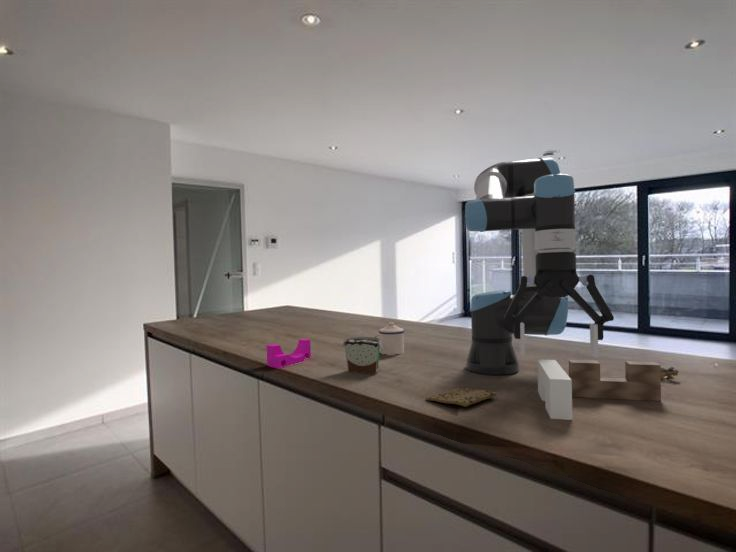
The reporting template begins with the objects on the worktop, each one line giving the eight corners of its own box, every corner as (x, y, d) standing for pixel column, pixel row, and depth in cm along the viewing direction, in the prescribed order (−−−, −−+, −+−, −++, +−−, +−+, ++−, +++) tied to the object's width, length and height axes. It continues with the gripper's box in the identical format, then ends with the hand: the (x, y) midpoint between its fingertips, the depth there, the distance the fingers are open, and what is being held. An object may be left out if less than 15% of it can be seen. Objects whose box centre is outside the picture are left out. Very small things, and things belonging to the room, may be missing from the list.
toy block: (278, 371, 130) (277, 347, 130) (267, 368, 134) (266, 345, 134) (315, 362, 141) (314, 340, 141) (304, 359, 145) (303, 338, 145)
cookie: (456, 389, 106) (456, 381, 106) (498, 400, 96) (498, 391, 96) (424, 400, 98) (424, 391, 98) (465, 412, 89) (465, 403, 89)
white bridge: (572, 420, 82) (571, 379, 82) (550, 418, 83) (549, 379, 83) (556, 393, 99) (555, 359, 99) (538, 392, 100) (537, 359, 100)
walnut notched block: (572, 396, 96) (571, 362, 96) (569, 393, 99) (568, 359, 99) (661, 401, 91) (660, 365, 91) (655, 396, 94) (654, 362, 94)
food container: (388, 370, 126) (388, 337, 126) (381, 375, 121) (380, 341, 121) (352, 367, 131) (352, 335, 131) (343, 371, 126) (342, 339, 126)
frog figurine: (685, 378, 110) (684, 364, 110) (675, 388, 102) (675, 373, 102) (635, 371, 118) (635, 358, 118) (622, 380, 110) (622, 366, 110)
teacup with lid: (409, 353, 150) (408, 321, 150) (397, 358, 142) (396, 324, 142) (380, 351, 156) (379, 320, 156) (367, 355, 149) (366, 323, 148)
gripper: (492, 253, 84) (494, 357, 84) (630, 248, 78) (633, 360, 78) (491, 254, 92) (493, 350, 92) (617, 250, 85) (620, 353, 85)
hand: (557, 355), depth 85 cm, fingers open, 13 cm apart
